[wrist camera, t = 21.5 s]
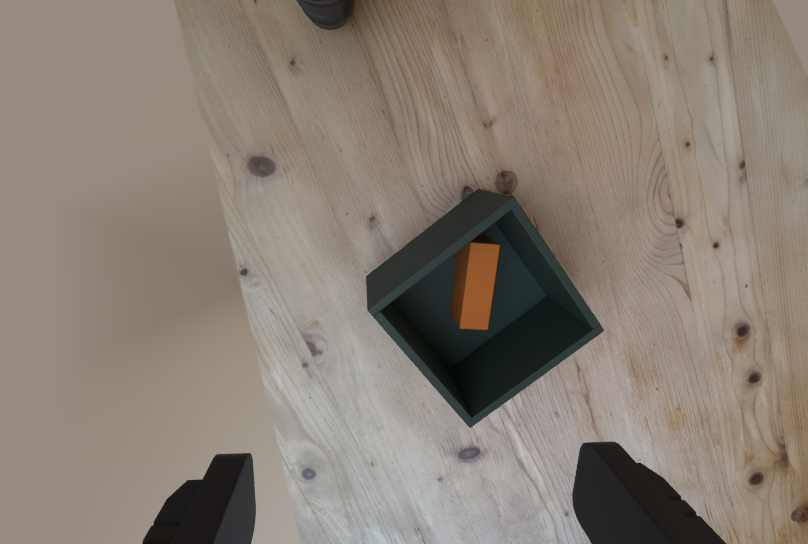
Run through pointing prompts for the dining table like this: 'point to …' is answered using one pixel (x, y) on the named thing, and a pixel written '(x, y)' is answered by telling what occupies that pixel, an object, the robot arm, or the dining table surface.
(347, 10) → the beverage cup
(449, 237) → the open box
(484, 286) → the block
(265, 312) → the dining table surface
